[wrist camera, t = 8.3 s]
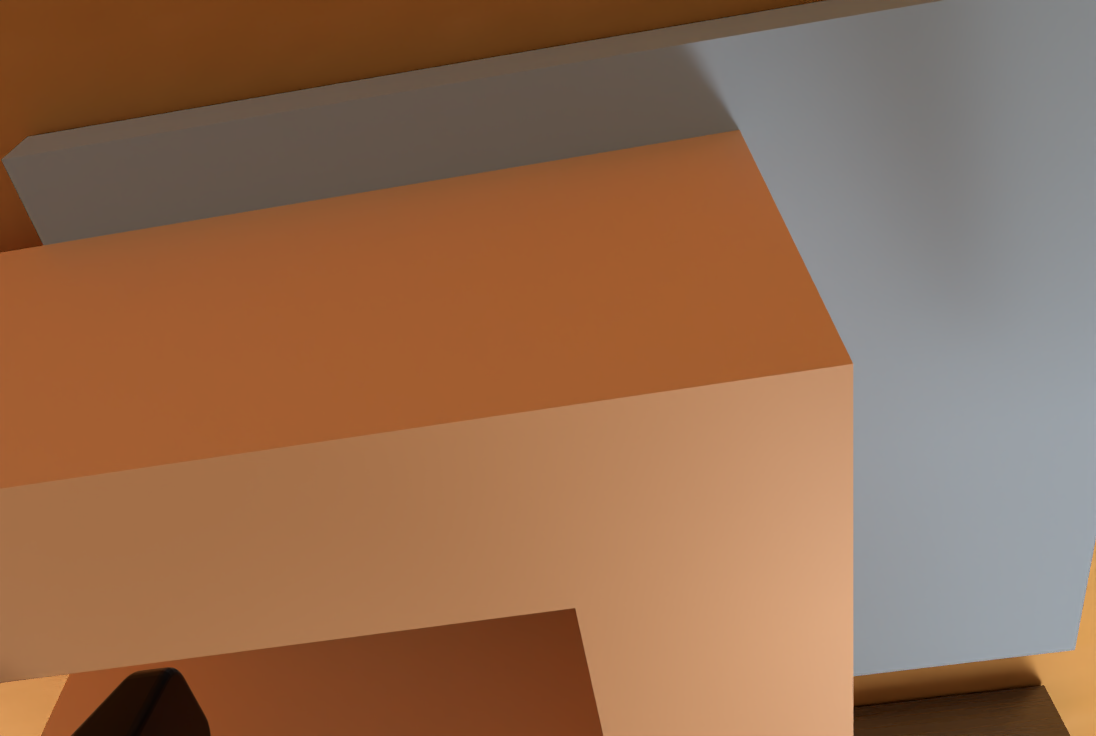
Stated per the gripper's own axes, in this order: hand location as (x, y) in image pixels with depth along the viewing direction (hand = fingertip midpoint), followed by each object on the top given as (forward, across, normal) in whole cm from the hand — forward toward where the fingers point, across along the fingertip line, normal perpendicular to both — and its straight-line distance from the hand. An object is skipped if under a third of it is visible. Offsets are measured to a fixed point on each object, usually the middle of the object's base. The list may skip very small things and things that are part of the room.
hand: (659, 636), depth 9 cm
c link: (+3, +3, 0) cm, 4 cm away
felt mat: (+3, 0, 0) cm, 3 cm away
